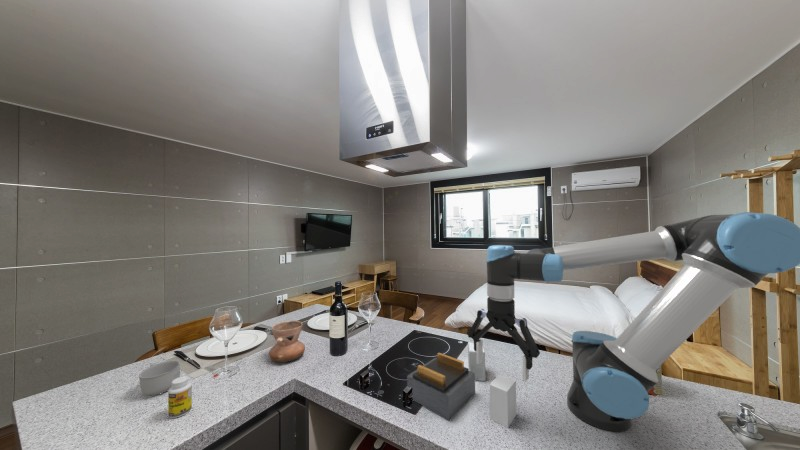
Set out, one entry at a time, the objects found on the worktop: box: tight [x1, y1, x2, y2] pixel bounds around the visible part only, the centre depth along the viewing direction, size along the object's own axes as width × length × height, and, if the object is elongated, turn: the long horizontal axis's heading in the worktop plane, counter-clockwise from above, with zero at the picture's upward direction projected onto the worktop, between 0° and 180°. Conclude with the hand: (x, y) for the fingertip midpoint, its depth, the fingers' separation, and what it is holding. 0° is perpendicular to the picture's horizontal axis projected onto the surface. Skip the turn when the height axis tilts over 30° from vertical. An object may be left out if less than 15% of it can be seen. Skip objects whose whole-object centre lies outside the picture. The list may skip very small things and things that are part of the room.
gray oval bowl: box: [138, 359, 181, 396], centre depth 94 cm, size 14×11×8 cm
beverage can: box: [647, 364, 663, 397], centre depth 89 cm, size 9×9×12 cm
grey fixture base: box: [406, 352, 476, 422], centre depth 87 cm, size 16×16×10 cm
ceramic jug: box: [268, 320, 306, 363], centre depth 115 cm, size 18×14×14 cm
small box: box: [467, 341, 487, 382], centre depth 98 cm, size 8×6×10 cm
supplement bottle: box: [167, 375, 193, 419], centre depth 81 cm, size 6×6×10 cm
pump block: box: [489, 374, 518, 429], centre depth 76 cm, size 5×7×10 cm
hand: (501, 370), depth 77 cm, fingers open, 13 cm apart
